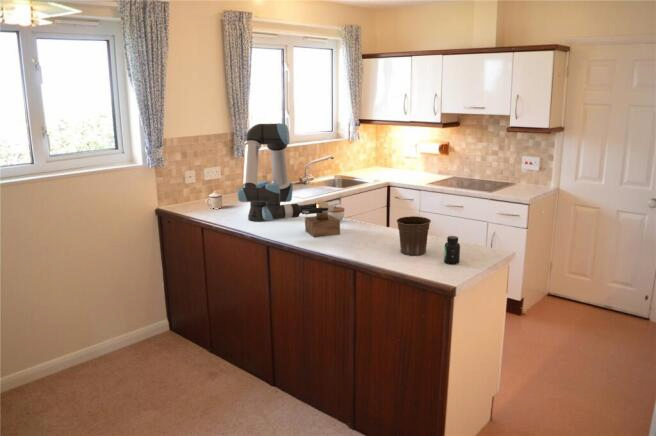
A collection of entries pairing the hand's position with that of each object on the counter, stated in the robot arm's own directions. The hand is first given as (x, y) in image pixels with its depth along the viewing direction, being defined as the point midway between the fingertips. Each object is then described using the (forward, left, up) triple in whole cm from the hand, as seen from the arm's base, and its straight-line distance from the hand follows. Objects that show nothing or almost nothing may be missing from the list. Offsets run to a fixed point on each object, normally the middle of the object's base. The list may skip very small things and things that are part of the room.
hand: (330, 206), depth 299 cm
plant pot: (+52, +22, -14) cm, 59 cm away
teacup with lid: (-91, -49, -14) cm, 104 cm away
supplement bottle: (+73, +30, -14) cm, 81 cm away
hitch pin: (0, -5, -13) cm, 14 cm away
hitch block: (0, -5, -14) cm, 15 cm away
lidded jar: (-22, +12, -14) cm, 29 cm away
